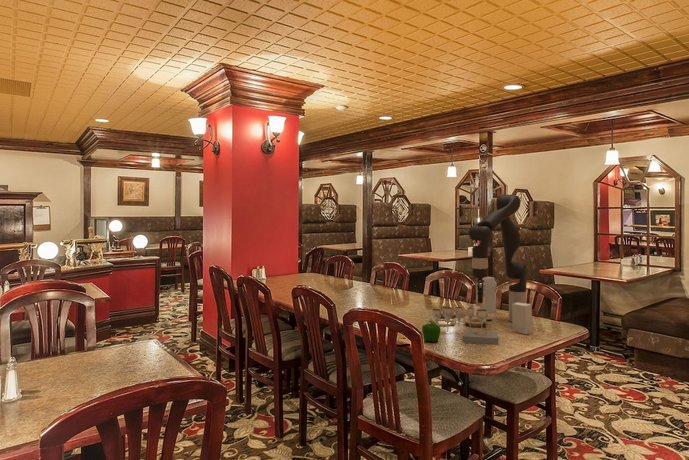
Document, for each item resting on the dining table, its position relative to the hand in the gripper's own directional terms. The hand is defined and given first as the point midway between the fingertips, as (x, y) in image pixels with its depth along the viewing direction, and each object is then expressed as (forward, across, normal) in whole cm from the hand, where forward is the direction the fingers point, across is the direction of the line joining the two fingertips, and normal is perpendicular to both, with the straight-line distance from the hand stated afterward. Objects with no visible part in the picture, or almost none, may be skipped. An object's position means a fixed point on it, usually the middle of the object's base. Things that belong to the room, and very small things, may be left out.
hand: (480, 301), depth 221 cm
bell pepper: (+19, +9, -23) cm, 31 cm away
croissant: (+19, +18, -41) cm, 48 cm away
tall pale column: (+19, -62, +6) cm, 65 cm away
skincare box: (+19, -17, +21) cm, 33 cm away
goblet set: (+19, -9, -10) cm, 23 cm away
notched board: (+18, +2, 0) cm, 18 cm away
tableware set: (+19, -35, -10) cm, 41 cm away
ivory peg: (+2, 0, 0) cm, 2 cm away
